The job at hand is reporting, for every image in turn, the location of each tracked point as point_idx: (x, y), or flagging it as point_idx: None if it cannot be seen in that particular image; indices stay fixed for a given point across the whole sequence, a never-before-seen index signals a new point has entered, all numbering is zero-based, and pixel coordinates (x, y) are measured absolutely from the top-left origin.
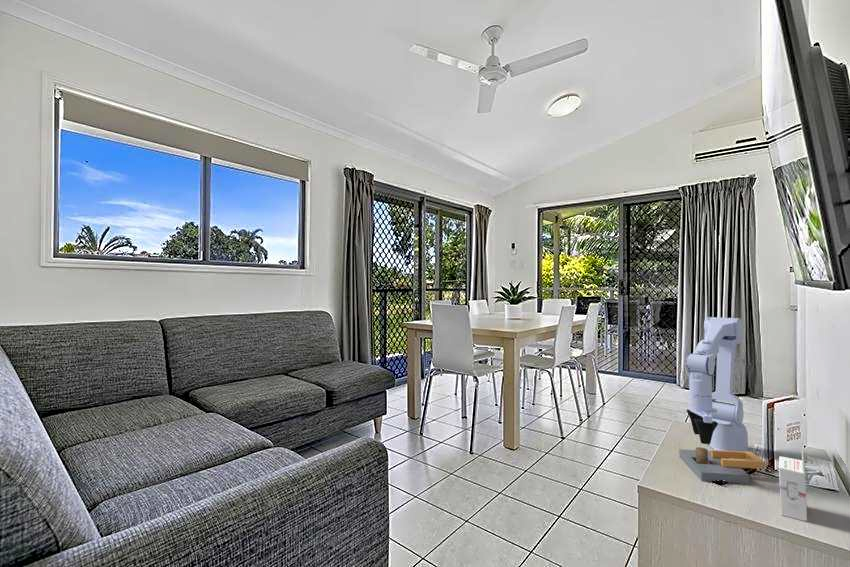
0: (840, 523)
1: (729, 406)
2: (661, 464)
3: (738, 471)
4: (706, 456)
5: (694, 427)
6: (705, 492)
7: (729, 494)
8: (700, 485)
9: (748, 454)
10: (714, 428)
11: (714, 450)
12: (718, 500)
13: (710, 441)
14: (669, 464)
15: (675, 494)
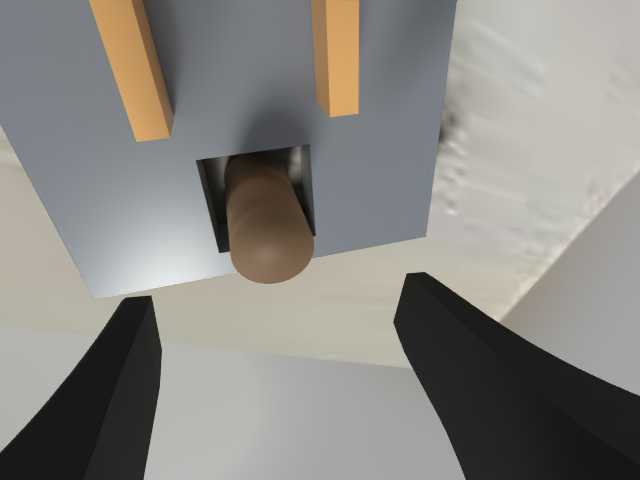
0: None
1: None
2: (254, 336)
3: (405, 6)
4: (298, 205)
5: (148, 420)
6: (501, 218)
7: (528, 128)
8: (445, 224)
9: None
10: (633, 401)
11: (143, 115)
12: (562, 187)
13: (444, 287)
14: (243, 310)
15: (504, 305)
